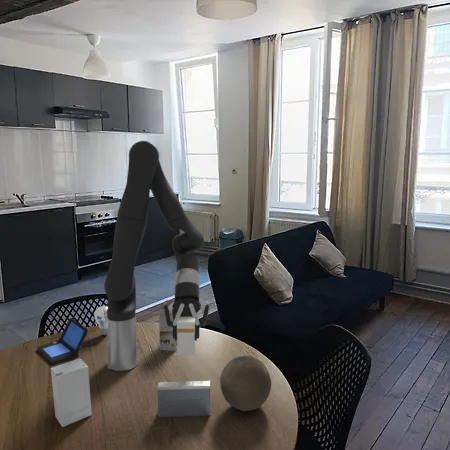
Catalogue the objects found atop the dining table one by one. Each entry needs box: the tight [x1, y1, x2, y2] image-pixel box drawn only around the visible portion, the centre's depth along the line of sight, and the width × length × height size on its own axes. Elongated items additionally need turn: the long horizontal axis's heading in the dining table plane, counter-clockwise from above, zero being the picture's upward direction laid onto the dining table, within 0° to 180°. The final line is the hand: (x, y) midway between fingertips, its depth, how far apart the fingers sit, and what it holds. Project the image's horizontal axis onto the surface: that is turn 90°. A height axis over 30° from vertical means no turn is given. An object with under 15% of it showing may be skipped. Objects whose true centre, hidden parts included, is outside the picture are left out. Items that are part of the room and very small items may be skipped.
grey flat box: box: [157, 380, 211, 418], centre depth 111 cm, size 14×2×9 cm, turn 93°
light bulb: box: [94, 305, 108, 337], centre depth 160 cm, size 7×7×12 cm
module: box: [176, 317, 196, 356], centre depth 118 cm, size 5×4×10 cm
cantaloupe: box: [219, 355, 272, 412], centre depth 112 cm, size 14×14×15 cm
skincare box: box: [50, 357, 93, 428], centre depth 109 cm, size 8×6×15 cm
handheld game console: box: [36, 317, 89, 365], centre depth 147 cm, size 16×13×9 cm
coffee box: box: [158, 299, 177, 352], centre depth 151 cm, size 9×6×16 cm
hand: (186, 339), depth 116 cm, fingers closed on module, 5 cm apart
